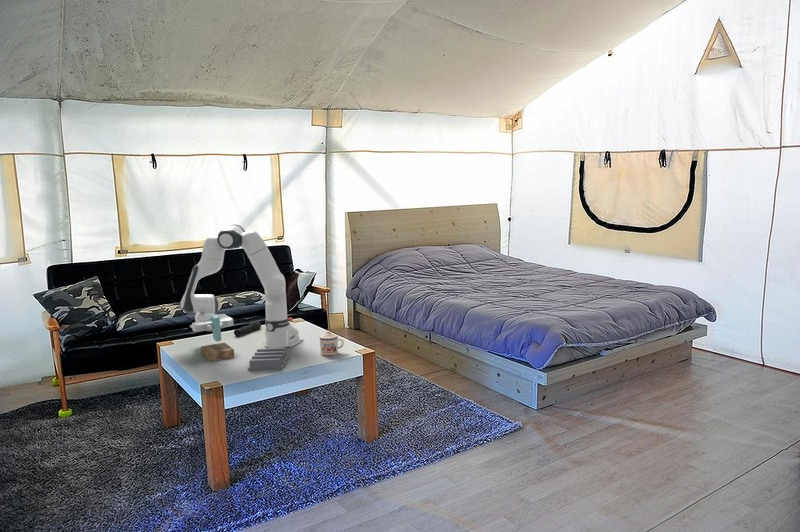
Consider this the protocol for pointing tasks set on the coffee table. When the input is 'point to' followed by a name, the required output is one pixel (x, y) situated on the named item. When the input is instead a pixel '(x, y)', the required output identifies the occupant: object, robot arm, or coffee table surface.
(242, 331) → the flashlight
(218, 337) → the aqua rubber eraser
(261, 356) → the slotted rack
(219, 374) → the coffee table surface
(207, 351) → the block
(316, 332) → the coffee table surface
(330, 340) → the teacup with lid
